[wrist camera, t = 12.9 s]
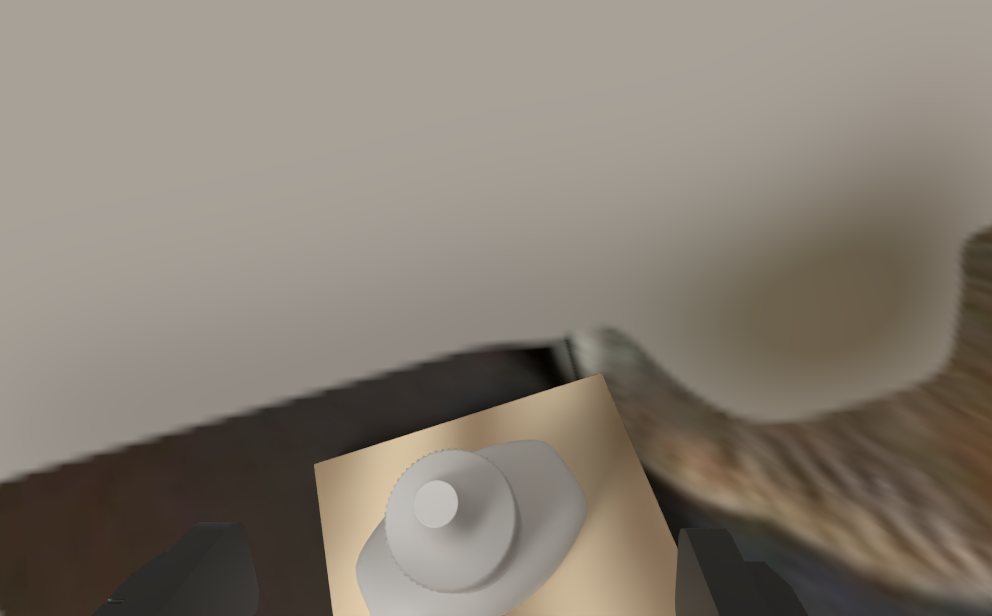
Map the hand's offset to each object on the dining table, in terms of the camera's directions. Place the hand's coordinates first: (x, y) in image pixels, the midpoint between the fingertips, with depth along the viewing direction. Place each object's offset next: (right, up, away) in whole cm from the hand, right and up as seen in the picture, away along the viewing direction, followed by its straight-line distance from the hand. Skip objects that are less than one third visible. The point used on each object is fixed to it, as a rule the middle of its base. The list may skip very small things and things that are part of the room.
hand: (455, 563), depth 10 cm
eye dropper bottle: (+1, -4, +9) cm, 10 cm away
